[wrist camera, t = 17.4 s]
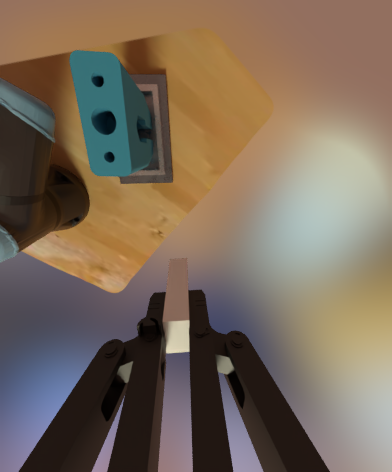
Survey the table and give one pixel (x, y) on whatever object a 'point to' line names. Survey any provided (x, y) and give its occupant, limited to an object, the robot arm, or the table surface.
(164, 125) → the grey rectangular tray
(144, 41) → the table surface
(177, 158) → the table surface
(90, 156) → the block
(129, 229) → the table surface
